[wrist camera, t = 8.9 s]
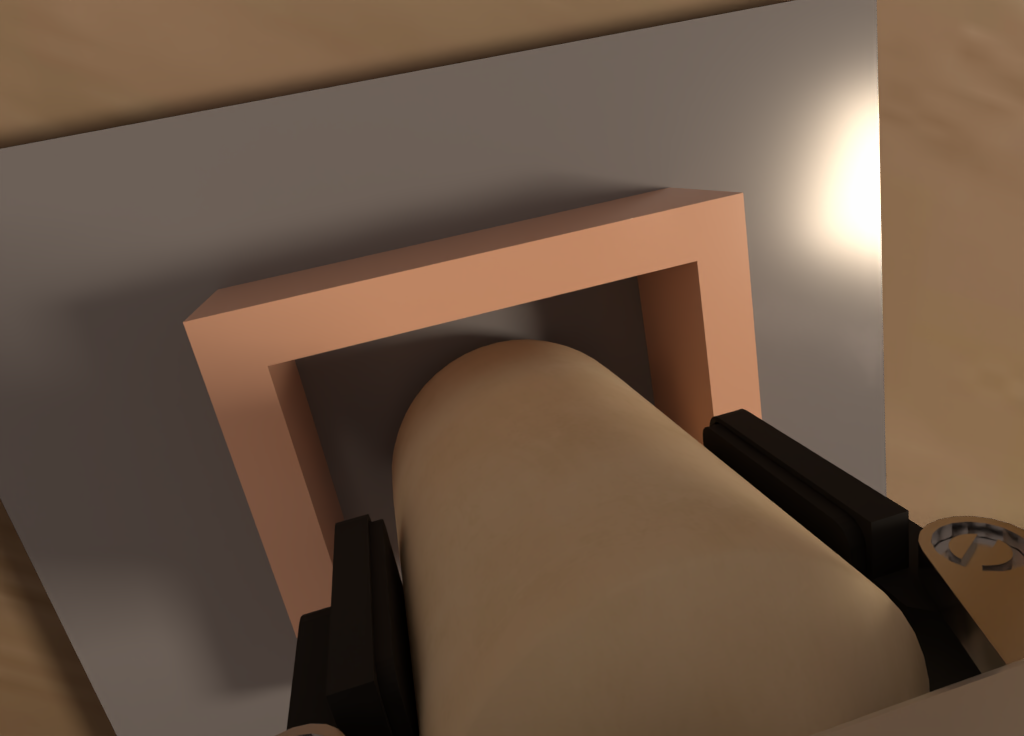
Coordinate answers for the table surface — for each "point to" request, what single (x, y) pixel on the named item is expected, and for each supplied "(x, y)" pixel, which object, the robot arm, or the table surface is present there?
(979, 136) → the table surface
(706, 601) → the candle
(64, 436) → the candle stand
